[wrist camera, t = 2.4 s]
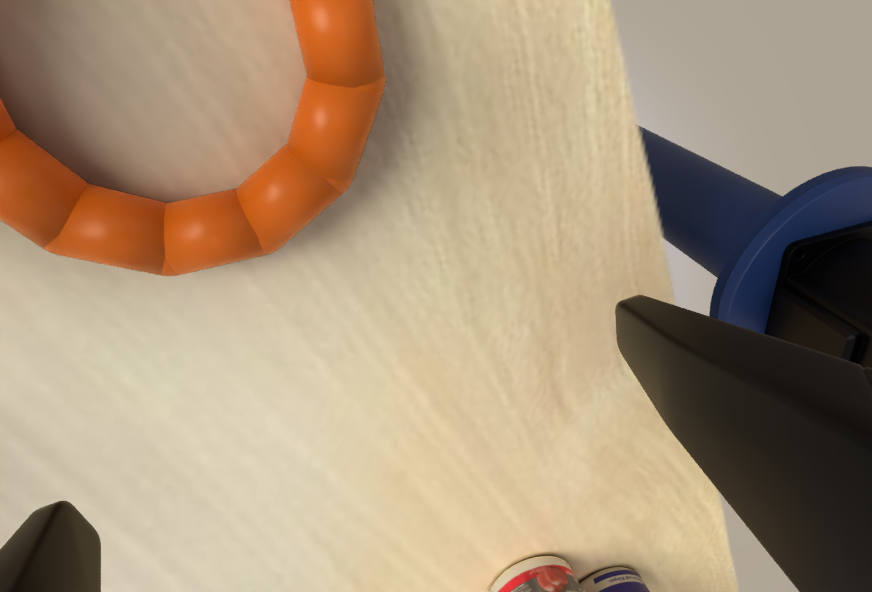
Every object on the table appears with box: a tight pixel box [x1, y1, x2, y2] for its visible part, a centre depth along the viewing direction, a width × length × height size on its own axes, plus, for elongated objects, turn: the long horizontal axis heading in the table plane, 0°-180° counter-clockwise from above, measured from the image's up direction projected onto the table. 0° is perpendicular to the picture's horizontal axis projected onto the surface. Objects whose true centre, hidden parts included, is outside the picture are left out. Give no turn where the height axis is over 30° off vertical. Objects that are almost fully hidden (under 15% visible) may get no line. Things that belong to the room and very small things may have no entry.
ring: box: [0, 0, 385, 276], centre depth 16 cm, size 12×12×2 cm
